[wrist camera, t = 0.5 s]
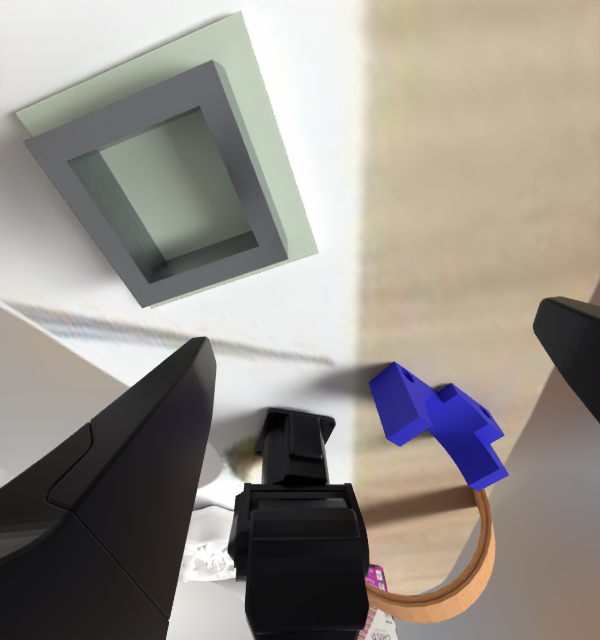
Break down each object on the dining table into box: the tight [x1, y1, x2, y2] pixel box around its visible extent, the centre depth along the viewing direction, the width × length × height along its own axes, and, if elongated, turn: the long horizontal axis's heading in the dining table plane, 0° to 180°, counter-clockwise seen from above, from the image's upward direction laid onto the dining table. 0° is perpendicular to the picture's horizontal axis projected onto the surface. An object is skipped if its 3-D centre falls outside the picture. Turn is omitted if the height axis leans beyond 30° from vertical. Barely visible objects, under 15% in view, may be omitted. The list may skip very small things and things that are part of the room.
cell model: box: [178, 506, 236, 583], centre depth 37 cm, size 10×12×7 cm
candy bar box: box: [357, 565, 398, 640], centre depth 43 cm, size 11×5×16 cm, turn 60°
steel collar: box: [24, 59, 288, 308], centre depth 17 cm, size 9×9×3 cm
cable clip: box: [369, 362, 509, 491], centre depth 28 cm, size 12×4×6 cm, turn 50°
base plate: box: [15, 11, 318, 309], centre depth 19 cm, size 12×12×1 cm
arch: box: [365, 489, 495, 623], centre depth 38 cm, size 6×20×10 cm, turn 112°
